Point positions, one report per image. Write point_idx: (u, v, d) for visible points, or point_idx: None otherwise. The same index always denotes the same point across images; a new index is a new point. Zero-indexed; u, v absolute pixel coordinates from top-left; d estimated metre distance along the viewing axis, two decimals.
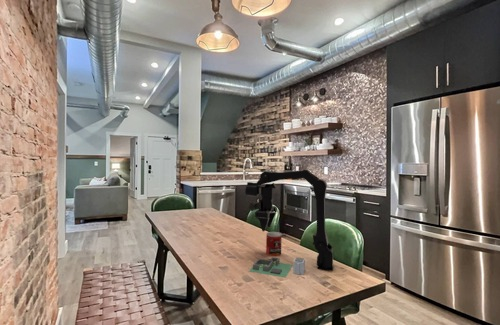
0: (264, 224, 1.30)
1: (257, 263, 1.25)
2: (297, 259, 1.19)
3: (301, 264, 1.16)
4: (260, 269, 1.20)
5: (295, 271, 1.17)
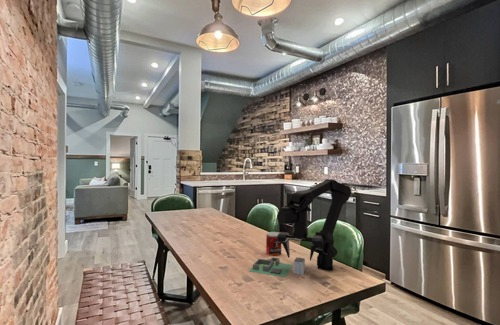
0: None
1: (257, 263, 1.25)
2: (297, 259, 1.19)
3: (301, 264, 1.16)
4: (260, 269, 1.20)
5: (295, 271, 1.17)
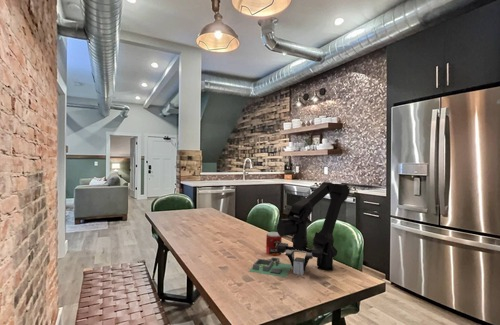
0: None
1: (257, 263, 1.25)
2: (297, 259, 1.19)
3: (301, 264, 1.16)
4: (260, 269, 1.20)
5: (295, 271, 1.17)
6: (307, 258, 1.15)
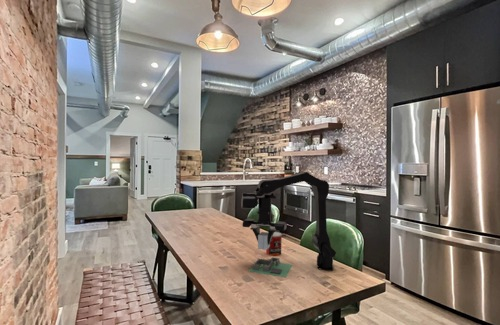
0: None
1: (257, 263, 1.25)
2: (262, 233, 1.23)
3: (265, 237, 1.20)
4: (260, 269, 1.20)
5: (259, 244, 1.21)
6: (270, 231, 1.19)
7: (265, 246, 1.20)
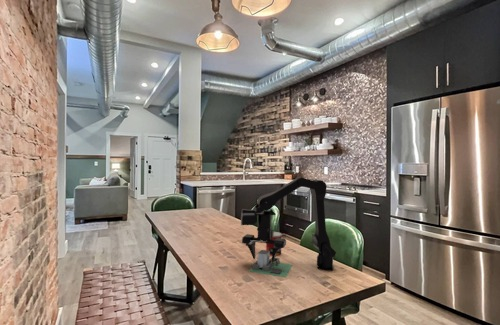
0: None
1: None
2: (261, 251, 1.23)
3: (265, 256, 1.20)
4: (260, 269, 1.20)
5: (259, 263, 1.21)
6: (275, 249, 1.19)
7: (265, 265, 1.20)
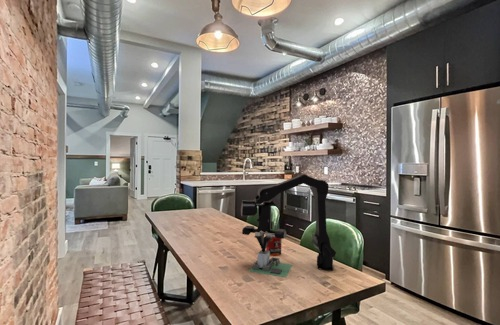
0: None
1: None
2: (261, 251, 1.23)
3: (265, 256, 1.20)
4: (260, 269, 1.20)
5: (259, 263, 1.21)
6: (266, 239, 1.20)
7: (265, 265, 1.20)
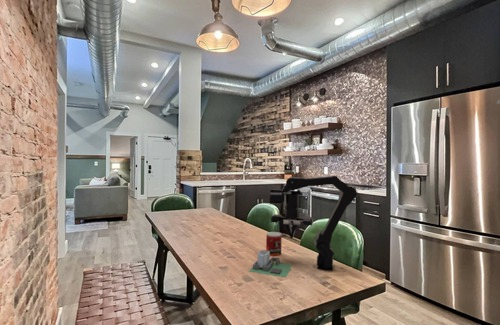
0: None
1: None
2: (261, 251, 1.23)
3: (265, 256, 1.20)
4: (260, 269, 1.20)
5: (259, 263, 1.21)
6: (294, 226, 1.26)
7: (265, 265, 1.20)
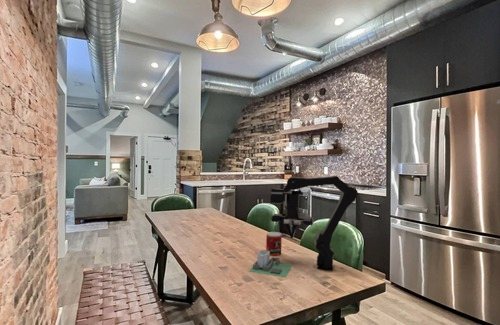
0: None
1: None
2: (261, 251, 1.23)
3: (265, 256, 1.20)
4: (260, 269, 1.20)
5: (259, 263, 1.21)
6: (295, 225, 1.26)
7: (265, 265, 1.20)
